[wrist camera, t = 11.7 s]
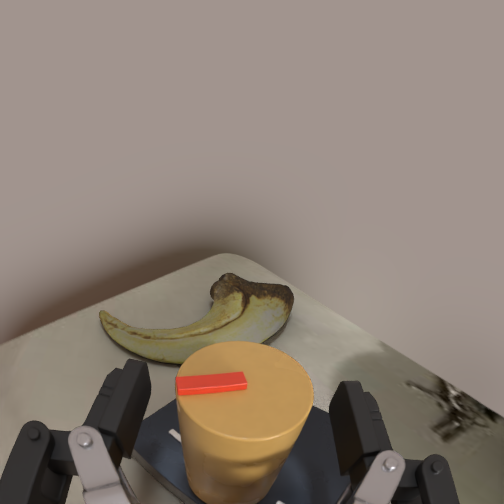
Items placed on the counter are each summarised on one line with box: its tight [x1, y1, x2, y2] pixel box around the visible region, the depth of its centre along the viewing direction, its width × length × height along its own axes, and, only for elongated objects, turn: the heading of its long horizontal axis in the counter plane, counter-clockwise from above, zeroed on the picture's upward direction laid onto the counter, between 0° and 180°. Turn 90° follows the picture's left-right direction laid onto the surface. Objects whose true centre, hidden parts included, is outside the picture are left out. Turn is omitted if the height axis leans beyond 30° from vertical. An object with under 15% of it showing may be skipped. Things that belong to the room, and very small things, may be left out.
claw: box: [99, 273, 294, 364], centre depth 27 cm, size 20×10×3 cm, turn 126°
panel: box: [132, 399, 350, 504], centre depth 13 cm, size 12×12×3 cm
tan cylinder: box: [175, 341, 314, 504], centre depth 10 cm, size 4×4×8 cm
